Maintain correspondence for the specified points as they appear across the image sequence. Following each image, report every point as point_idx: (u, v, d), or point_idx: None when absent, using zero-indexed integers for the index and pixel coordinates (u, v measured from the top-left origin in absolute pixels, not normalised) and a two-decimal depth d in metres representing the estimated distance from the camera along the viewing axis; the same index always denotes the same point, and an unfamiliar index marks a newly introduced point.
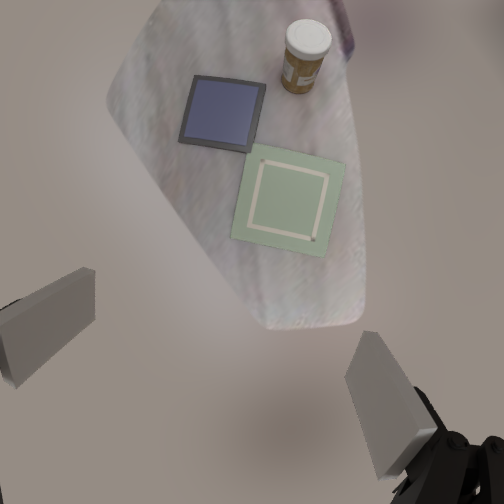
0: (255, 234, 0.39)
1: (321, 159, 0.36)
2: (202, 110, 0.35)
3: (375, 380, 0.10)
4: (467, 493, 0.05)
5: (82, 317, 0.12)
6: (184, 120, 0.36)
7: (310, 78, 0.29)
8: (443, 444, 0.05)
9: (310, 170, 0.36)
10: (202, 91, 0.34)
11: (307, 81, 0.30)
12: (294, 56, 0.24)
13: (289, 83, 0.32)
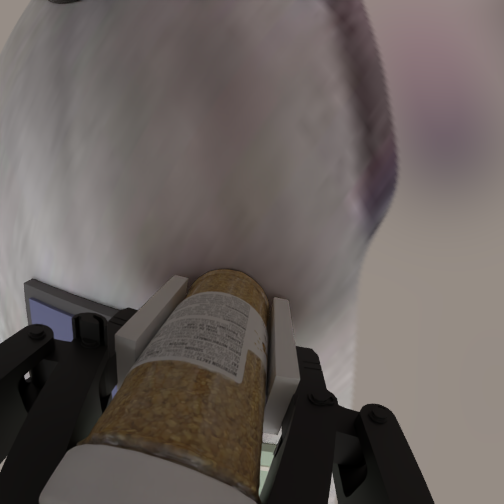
0: None
1: (272, 454, 0.17)
2: None
3: (270, 338, 0.12)
4: (359, 465, 0.07)
5: None
6: None
7: None
8: (303, 401, 0.07)
9: None
10: None
11: None
12: None
13: None
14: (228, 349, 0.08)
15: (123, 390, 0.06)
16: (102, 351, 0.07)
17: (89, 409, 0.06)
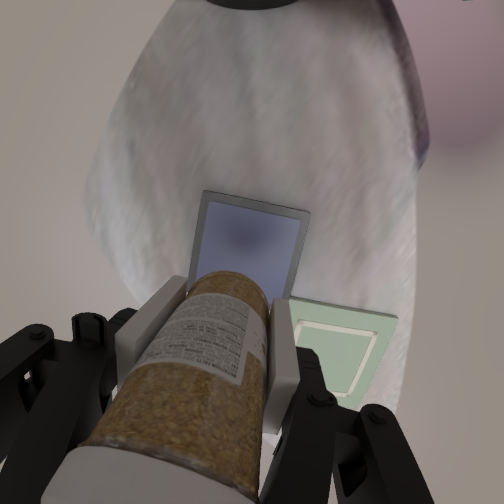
0: None
1: (371, 316, 0.28)
2: (217, 252, 0.27)
3: (270, 338, 0.12)
4: (359, 466, 0.07)
5: None
6: (193, 263, 0.28)
7: None
8: (302, 401, 0.07)
9: (356, 330, 0.28)
10: (217, 222, 0.26)
11: None
12: None
13: None
14: (228, 351, 0.08)
15: (123, 392, 0.06)
16: (102, 351, 0.07)
17: (89, 409, 0.06)
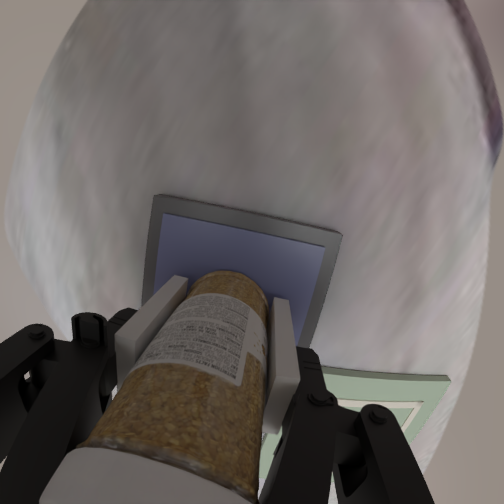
0: None
1: (418, 383, 0.17)
2: None
3: (270, 338, 0.12)
4: (359, 465, 0.07)
5: None
6: None
7: None
8: (303, 401, 0.07)
9: (395, 403, 0.17)
10: (178, 250, 0.15)
11: None
12: None
13: None
14: (227, 351, 0.08)
15: (122, 393, 0.06)
16: (102, 351, 0.07)
17: (89, 409, 0.06)
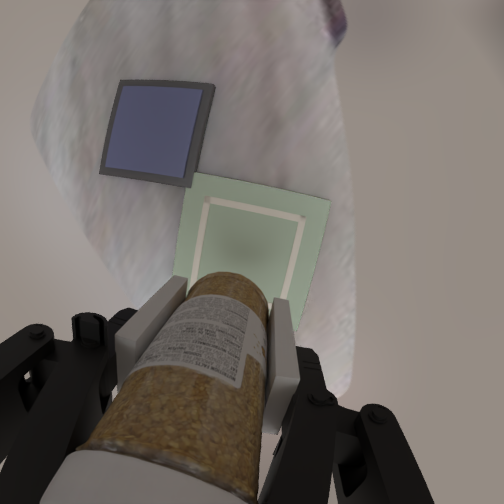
0: None
1: (294, 194, 0.25)
2: (126, 129, 0.24)
3: (270, 338, 0.12)
4: (359, 465, 0.07)
5: None
6: (106, 144, 0.25)
7: None
8: (303, 401, 0.07)
9: (276, 211, 0.25)
10: (128, 102, 0.23)
11: None
12: None
13: None
14: (227, 353, 0.08)
15: (122, 395, 0.06)
16: (102, 351, 0.07)
17: (89, 409, 0.06)
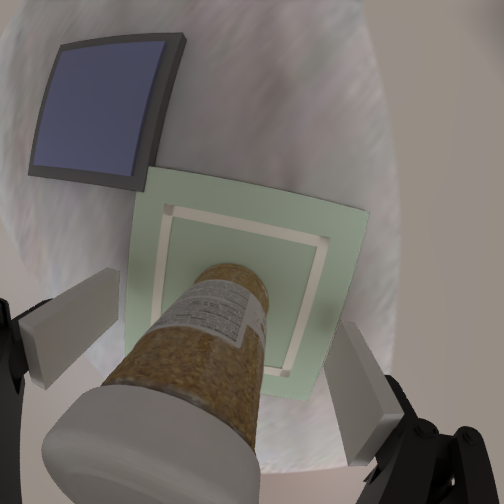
0: None
1: (310, 201, 0.15)
2: (59, 109, 0.14)
3: (348, 367, 0.11)
4: (442, 484, 0.05)
5: (107, 317, 0.12)
6: (36, 133, 0.15)
7: None
8: (410, 432, 0.06)
9: (281, 229, 0.15)
10: (65, 71, 0.13)
11: None
12: None
13: None
14: (229, 321, 0.09)
15: (133, 351, 0.07)
16: (7, 332, 0.06)
17: (3, 386, 0.05)
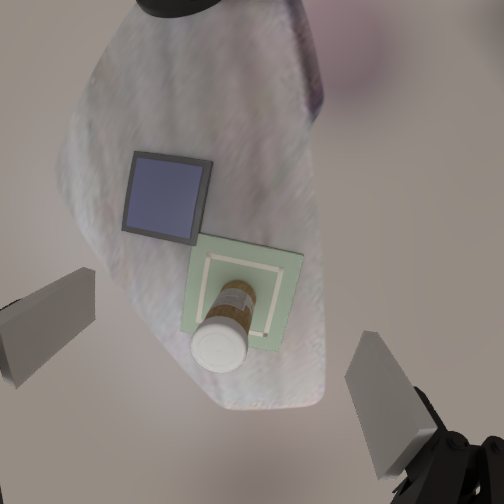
0: None
1: (275, 251, 0.34)
2: (142, 196, 0.33)
3: (375, 380, 0.10)
4: (467, 493, 0.05)
5: (82, 317, 0.12)
6: (126, 206, 0.33)
7: None
8: (443, 444, 0.05)
9: (261, 264, 0.34)
10: (142, 173, 0.32)
11: None
12: None
13: None
14: (239, 303, 0.27)
15: (211, 312, 0.25)
16: None
17: None
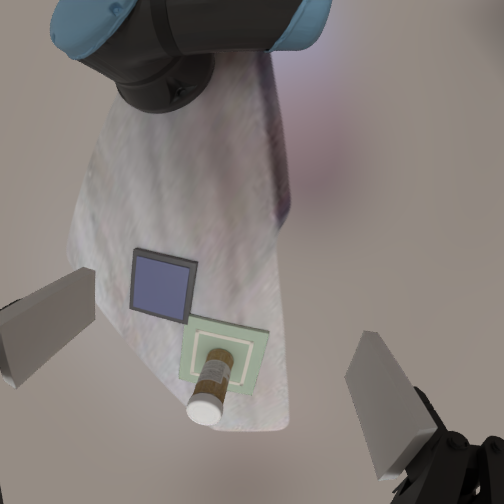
0: (197, 378, 0.46)
1: (247, 330, 0.43)
2: (144, 286, 0.42)
3: (375, 379, 0.10)
4: (466, 493, 0.05)
5: (82, 317, 0.12)
6: (131, 291, 0.43)
7: None
8: (443, 444, 0.05)
9: (236, 339, 0.43)
10: (142, 268, 0.42)
11: None
12: None
13: None
14: (218, 376, 0.37)
15: (199, 385, 0.35)
16: None
17: None
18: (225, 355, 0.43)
